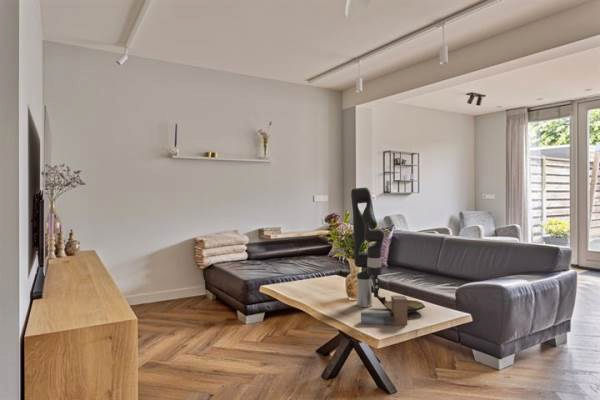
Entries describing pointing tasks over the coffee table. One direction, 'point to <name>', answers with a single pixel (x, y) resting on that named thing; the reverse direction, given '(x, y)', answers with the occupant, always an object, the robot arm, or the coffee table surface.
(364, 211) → the robot arm
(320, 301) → the coffee table surface
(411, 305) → the cracked wood slice
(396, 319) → the dark u-channel
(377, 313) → the gray rectangular block
